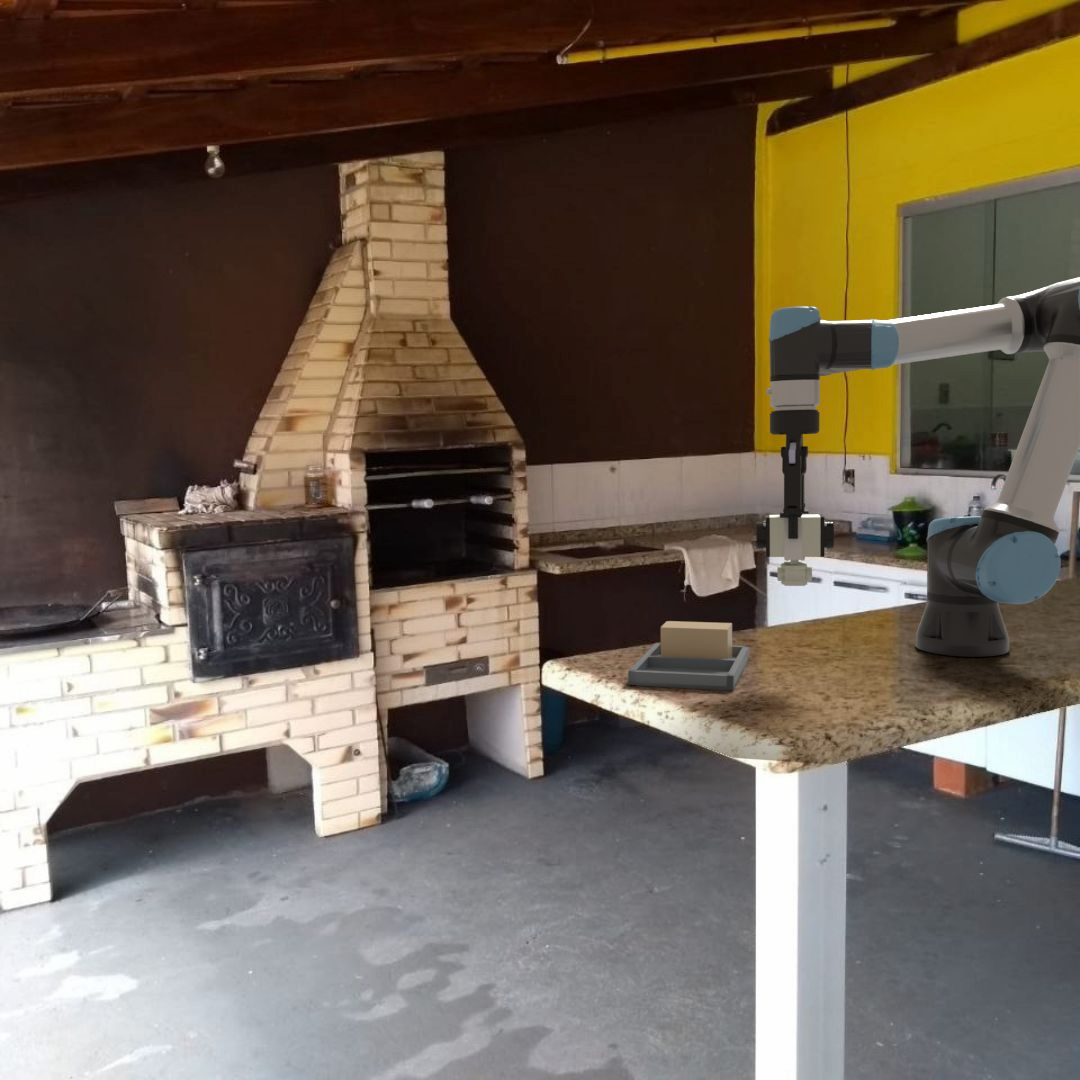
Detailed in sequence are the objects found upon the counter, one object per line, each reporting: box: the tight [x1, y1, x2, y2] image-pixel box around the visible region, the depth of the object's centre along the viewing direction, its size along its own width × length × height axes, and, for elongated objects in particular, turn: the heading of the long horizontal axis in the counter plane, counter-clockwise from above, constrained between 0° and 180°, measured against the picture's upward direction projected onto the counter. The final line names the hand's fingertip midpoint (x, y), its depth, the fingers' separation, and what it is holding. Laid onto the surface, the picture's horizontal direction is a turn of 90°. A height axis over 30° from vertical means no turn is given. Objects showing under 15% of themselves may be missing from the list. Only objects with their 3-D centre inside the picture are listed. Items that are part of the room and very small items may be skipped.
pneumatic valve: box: [755, 513, 835, 587], centre depth 165 cm, size 6×12×12 cm, turn 78°
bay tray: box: [627, 620, 750, 692], centre depth 170 cm, size 16×23×7 cm
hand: (794, 557), depth 165 cm, fingers closed on pneumatic valve, 5 cm apart
